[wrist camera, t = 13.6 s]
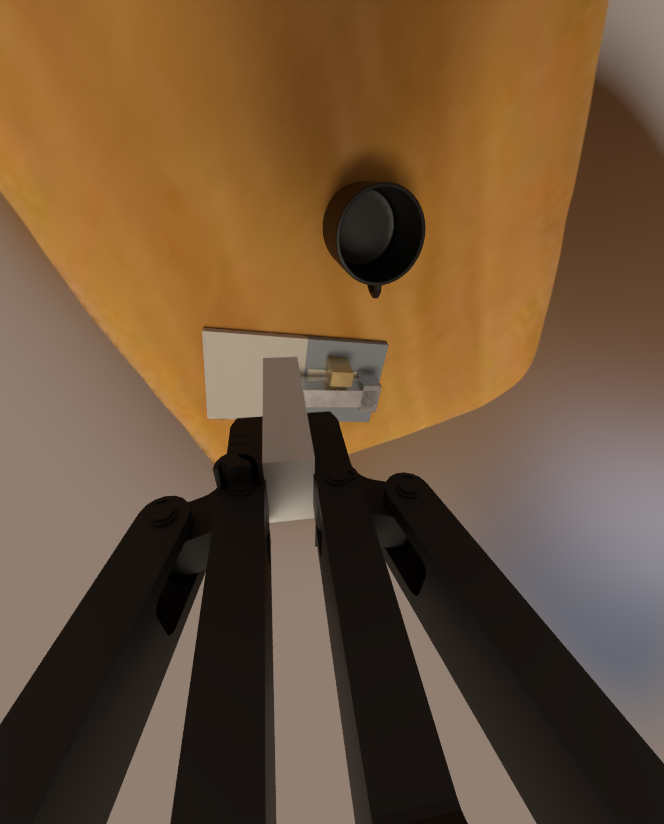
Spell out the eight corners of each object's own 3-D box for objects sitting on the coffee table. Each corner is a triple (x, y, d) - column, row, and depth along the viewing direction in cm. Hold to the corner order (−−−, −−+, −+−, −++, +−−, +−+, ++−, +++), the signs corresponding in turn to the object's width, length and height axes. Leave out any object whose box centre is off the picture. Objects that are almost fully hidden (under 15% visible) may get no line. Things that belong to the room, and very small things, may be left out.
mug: (330, 294, 45) (344, 316, 38) (316, 188, 38) (329, 190, 31) (398, 281, 46) (424, 300, 39) (396, 175, 39) (427, 174, 32)
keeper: (326, 356, 49) (332, 372, 45) (346, 357, 50) (354, 373, 46) (324, 369, 50) (330, 386, 46) (344, 370, 51) (351, 387, 47)
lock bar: (297, 397, 51) (299, 411, 48) (299, 371, 49) (302, 384, 46) (368, 397, 54) (375, 411, 50) (373, 373, 51) (381, 386, 48)
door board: (203, 327, 45) (195, 349, 39) (385, 342, 51) (402, 362, 45) (208, 414, 52) (202, 443, 47) (366, 417, 58) (378, 443, 53)
